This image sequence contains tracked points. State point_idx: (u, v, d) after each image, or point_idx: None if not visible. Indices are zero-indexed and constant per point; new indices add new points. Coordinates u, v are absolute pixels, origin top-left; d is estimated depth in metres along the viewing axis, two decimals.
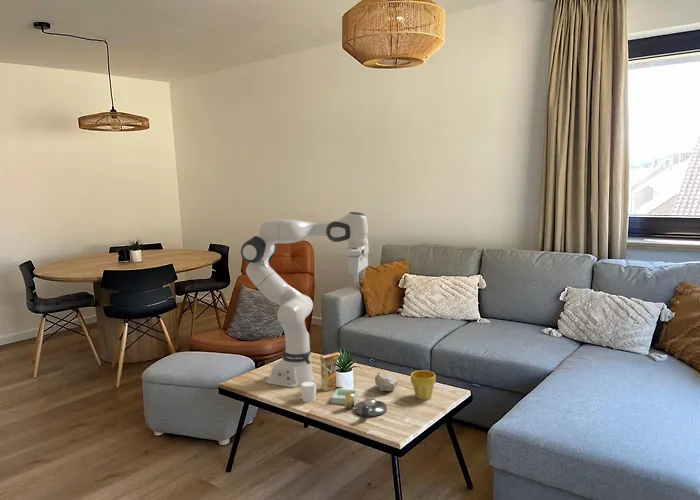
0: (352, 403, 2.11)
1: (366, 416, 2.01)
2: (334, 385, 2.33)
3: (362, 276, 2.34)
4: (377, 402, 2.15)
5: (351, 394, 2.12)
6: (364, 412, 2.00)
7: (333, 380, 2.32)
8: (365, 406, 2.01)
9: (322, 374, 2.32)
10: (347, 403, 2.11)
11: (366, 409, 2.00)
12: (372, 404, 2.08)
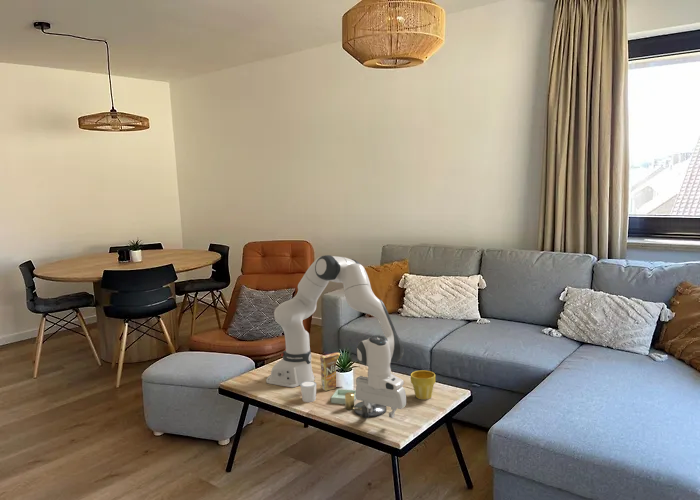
0: (352, 403, 2.11)
1: (366, 416, 2.01)
2: (334, 385, 2.33)
3: (372, 409, 2.00)
4: None
5: (351, 394, 2.12)
6: (364, 412, 2.00)
7: (333, 380, 2.32)
8: (365, 406, 2.01)
9: (322, 374, 2.32)
10: (347, 403, 2.11)
11: (366, 409, 2.00)
12: (372, 404, 2.08)
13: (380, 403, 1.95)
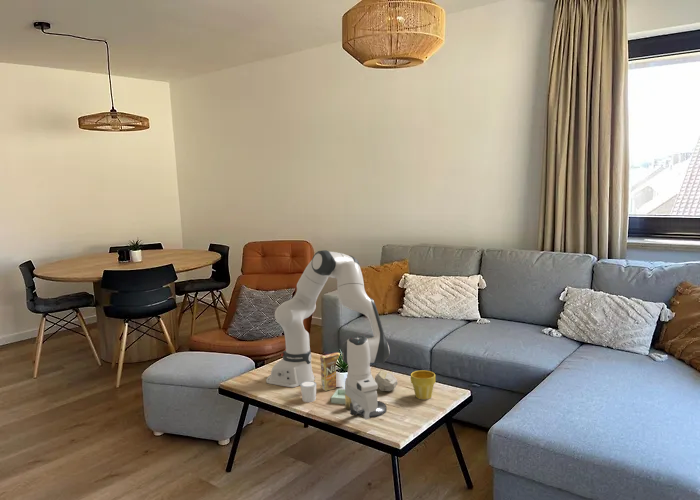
0: None
1: (352, 413, 2.03)
2: (334, 385, 2.33)
3: (357, 408, 2.02)
4: (377, 402, 2.15)
5: None
6: (351, 409, 2.04)
7: (333, 380, 2.32)
8: None
9: (322, 374, 2.32)
10: (347, 403, 2.11)
11: (352, 406, 2.03)
12: None
13: (357, 402, 1.96)
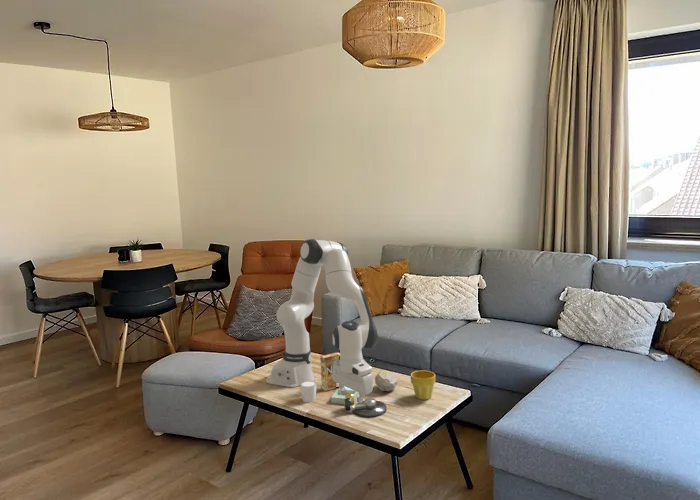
0: (352, 403, 2.11)
1: (345, 408, 2.08)
2: (334, 385, 2.33)
3: (345, 392, 2.06)
4: (377, 402, 2.15)
5: (351, 394, 2.12)
6: (345, 404, 2.08)
7: None
8: (348, 399, 2.08)
9: (322, 374, 2.32)
10: None
11: (345, 402, 2.08)
12: (366, 404, 2.09)
13: (349, 387, 2.00)
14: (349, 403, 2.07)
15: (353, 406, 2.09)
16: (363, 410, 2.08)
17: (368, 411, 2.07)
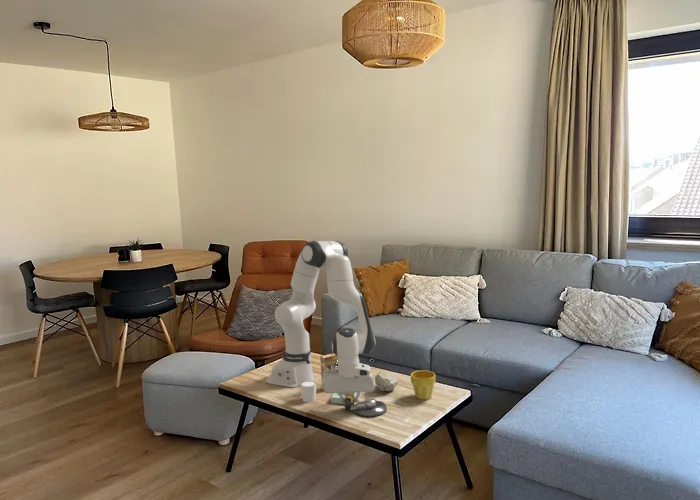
0: (352, 403, 2.11)
1: (345, 408, 2.08)
2: None
3: None
4: (377, 402, 2.15)
5: (351, 394, 2.12)
6: None
7: None
8: (348, 399, 2.08)
9: (322, 374, 2.32)
10: None
11: (345, 402, 2.08)
12: (366, 404, 2.09)
13: (351, 391, 2.10)
14: (349, 403, 2.07)
15: (353, 406, 2.09)
16: (363, 410, 2.08)
17: (368, 411, 2.07)
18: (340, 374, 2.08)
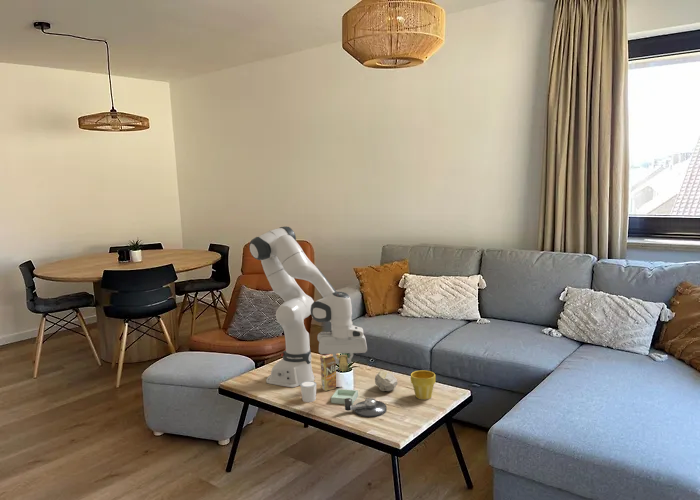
0: (345, 364, 2.18)
1: (345, 408, 2.08)
2: (334, 385, 2.33)
3: (338, 360, 2.20)
4: (377, 402, 2.15)
5: (344, 356, 2.19)
6: None
7: (333, 380, 2.32)
8: (348, 399, 2.08)
9: (322, 374, 2.32)
10: (341, 364, 2.18)
11: (345, 402, 2.08)
12: (366, 404, 2.09)
13: (345, 351, 2.17)
14: (349, 403, 2.07)
15: (353, 406, 2.09)
16: (363, 410, 2.08)
17: (368, 411, 2.07)
18: (334, 335, 2.15)
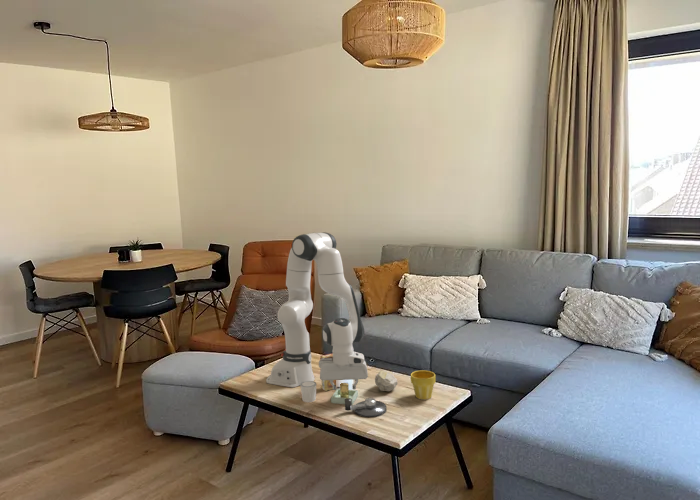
0: (347, 393, 2.20)
1: (345, 408, 2.08)
2: None
3: None
4: (377, 402, 2.15)
5: (346, 384, 2.21)
6: None
7: (333, 380, 2.32)
8: (348, 399, 2.08)
9: None
10: (342, 393, 2.20)
11: (345, 402, 2.08)
12: (366, 404, 2.09)
13: (346, 378, 2.19)
14: (349, 403, 2.07)
15: (353, 406, 2.09)
16: (363, 410, 2.08)
17: (368, 411, 2.07)
18: (335, 362, 2.17)
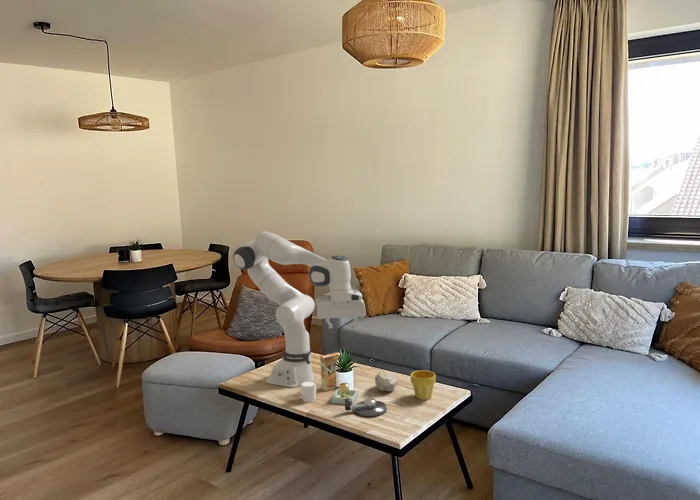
0: (347, 393, 2.20)
1: (345, 408, 2.08)
2: (334, 385, 2.33)
3: None
4: (377, 402, 2.15)
5: (346, 384, 2.21)
6: None
7: (333, 380, 2.32)
8: (348, 399, 2.08)
9: (322, 374, 2.32)
10: (342, 393, 2.20)
11: (345, 402, 2.08)
12: (366, 404, 2.09)
13: (344, 316, 2.15)
14: (349, 403, 2.07)
15: (353, 406, 2.09)
16: (363, 410, 2.08)
17: (368, 411, 2.07)
18: (332, 299, 2.13)
